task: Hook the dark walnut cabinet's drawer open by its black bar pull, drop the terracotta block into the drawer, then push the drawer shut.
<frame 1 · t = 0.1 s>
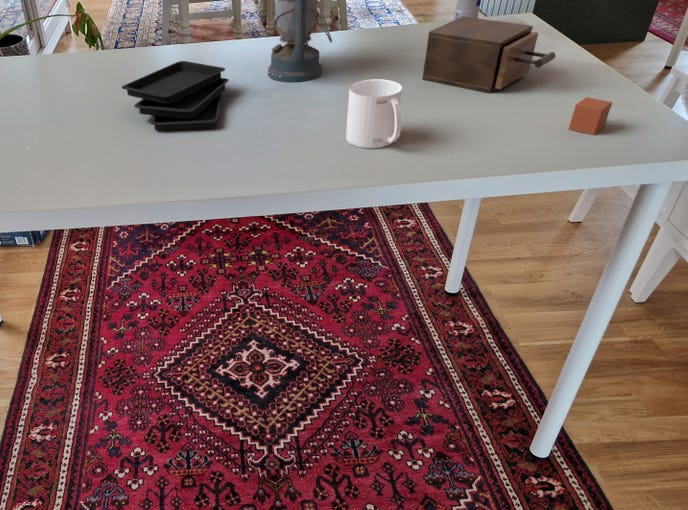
block: (586, 128, 116), on the table
lantern: (298, 73, 151), on the table
mug: (373, 143, 118), on the table
beverage can: (463, 34, 165), on the table
cabinet: (471, 77, 140), on the table
tray: (178, 108, 139), on the table
drawer: (499, 57, 134), point 5 cm above the table, slide at 0.5 cm
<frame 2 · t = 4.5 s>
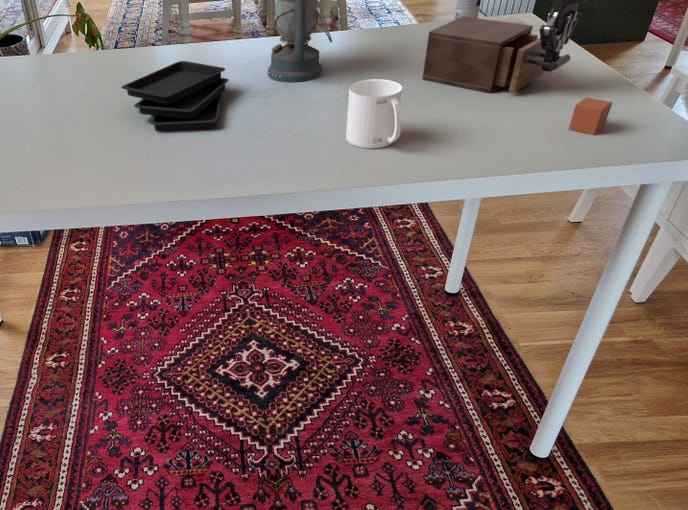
hand: (548, 70, 129), 4 cm above the table, tool pointing down, fingers closed
drawer: (512, 59, 132), point 5 cm above the table, slide at 3.5 cm
everything else where it was.
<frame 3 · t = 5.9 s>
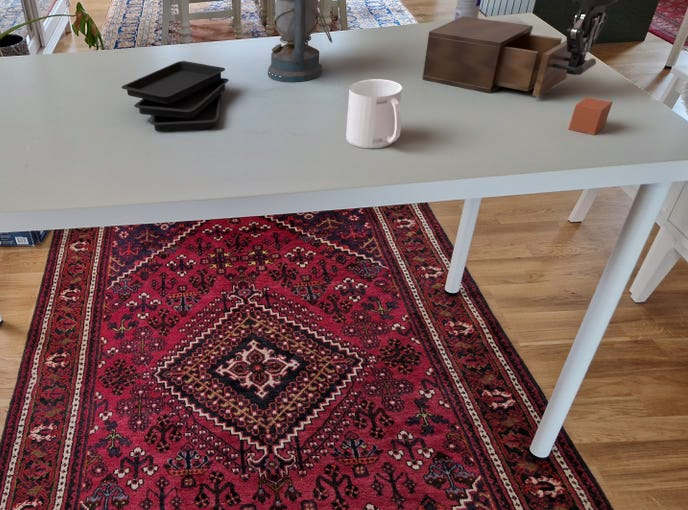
hand: (573, 73, 126), 4 cm above the table, tool pointing down, fingers closed
drawer: (535, 63, 130), point 5 cm above the table, slide at 8.3 cm
everything else where it was.
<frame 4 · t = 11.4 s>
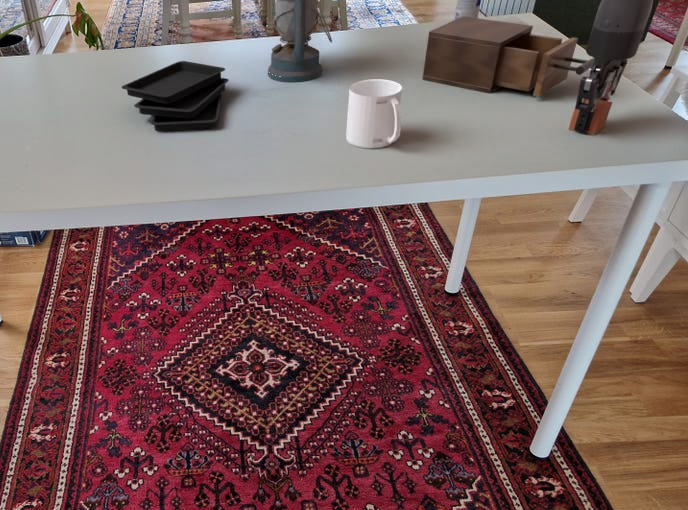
hand: (586, 126, 116), 0 cm above the table, tool pointing down, fingers closed on block, 4 cm apart
block: (586, 128, 116), on the table, touching gripper
everything else where it was.
when the fingers open (9 cm above the table, at t = 17.9 s): block drops 7 cm, resting on drawer.
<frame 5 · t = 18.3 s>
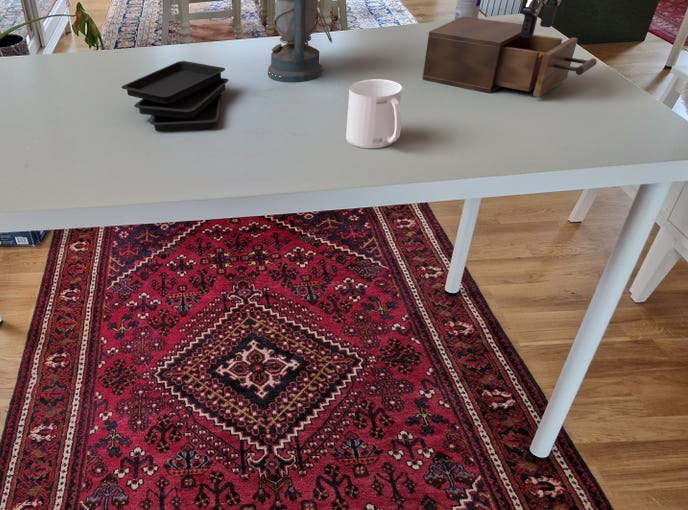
hand: (536, 31, 127), 11 cm above the table, tool pointing down, fingers open, 8 cm apart
block: (525, 76, 132), point 2 cm above the table, touching drawer
drawer: (536, 63, 130), point 5 cm above the table, slide at 8.4 cm, touching block
everything else where it was.
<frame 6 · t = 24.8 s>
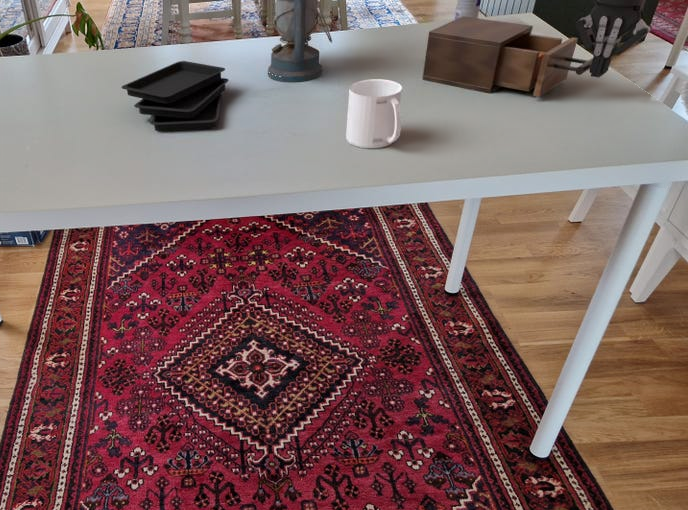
hand: (596, 75, 123), 5 cm above the table, tool pointing down, fingers closed
drawer: (536, 63, 130), point 5 cm above the table, slide at 8.4 cm, touching block, gripper
everything else where it was.
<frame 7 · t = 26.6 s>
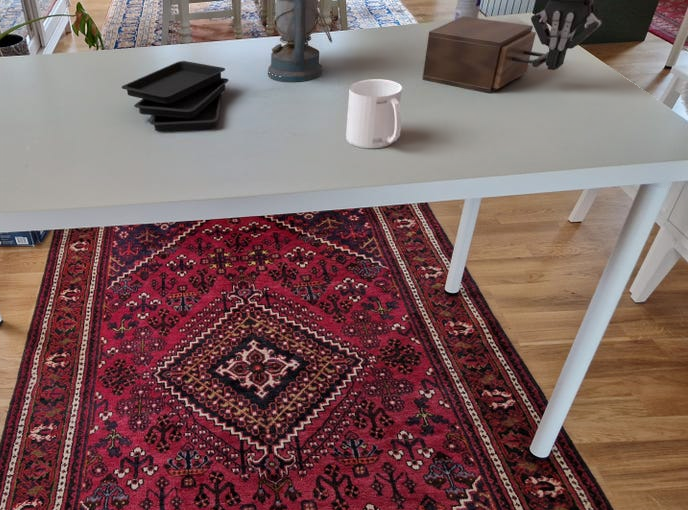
hand: (553, 68, 128), 4 cm above the table, tool pointing down, fingers closed
block: (486, 69, 137), point 2 cm above the table, touching drawer
drawer: (496, 57, 134), point 5 cm above the table, slide at 0.0 cm, touching block, cabinet, gripper
everything else where it was.
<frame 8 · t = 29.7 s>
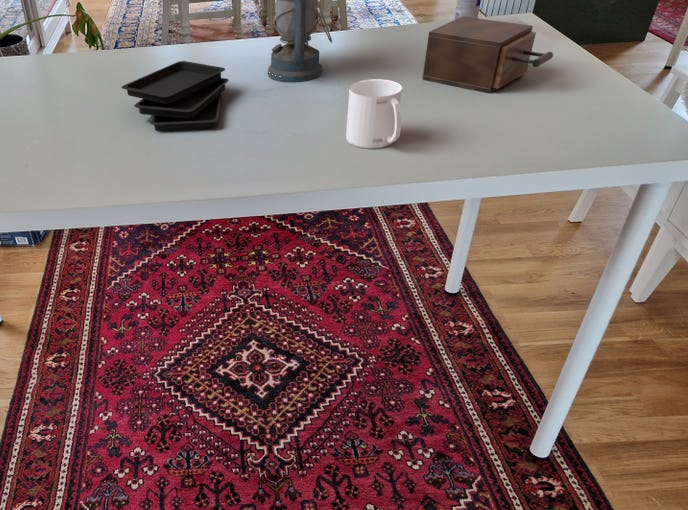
hand: (608, 2, 116), 17 cm above the table, tool pointing down, fingers closed
drawer: (496, 57, 134), point 5 cm above the table, slide at 0.0 cm, touching block
everything else where it was.
at the end: drawer pulled out 8.4 cm at the most during the clip, back to where it started at the end; block inside the target area in the cabinet (3.1 cm from its centre), point 2.1 cm above the cabinet's base; drawer slide at 0.0 cm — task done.
